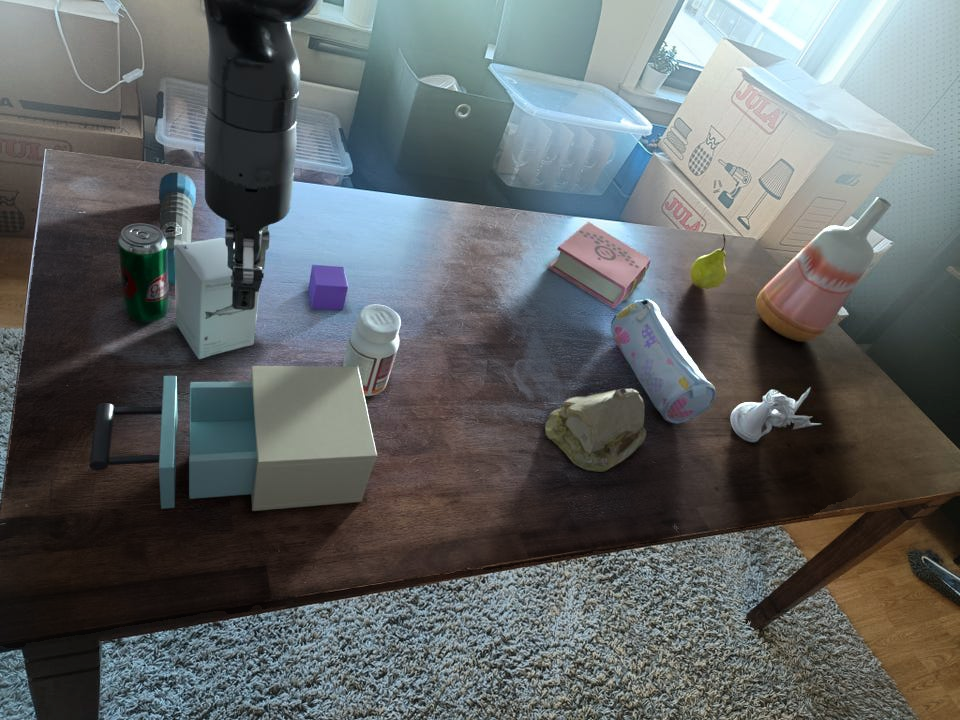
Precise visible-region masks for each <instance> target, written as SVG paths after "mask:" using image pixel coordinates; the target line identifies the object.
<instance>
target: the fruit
mask: <svg viewBox="0 0 960 720" xmlns="http://www.w3.org/2000/svg"><path fill="white" fill-rule="evenodd" d="M722 236H723V247H722V248H717V249H715V250H714V251H712V252H711V253H709V254H704V255H701V256H699V257H698V258H696V259H695V261H694V262H693V263H692V266H691V268H690V271H689V277H690V281H691V282H692V284H693V285H694V286H695V287H697V288H698V289H703V290H708V289H713V288H718V287H720V286H721V285H722V283H723V282H724V281H725V278H726V276H727V273H728V272H727V268H726V266H725V260H726V251H725V248H726V247H725V246H726V235H725V233H722Z"/></svg>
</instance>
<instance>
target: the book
mask: <svg viewBox="0 0 960 720" xmlns="http://www.w3.org/2000/svg"><path fill="white" fill-rule="evenodd" d="M556 250H557V251H559V254H558V257H557V258H556V259H555V260H554V261H552V262H551V263H550V264H549V265H548V267H547V268H548V269H549V270H551V271H552V272H554V273H555V274H557V275H559V276H560V277H562V278H563V279H565V280H567V281H569V282H570V283H571V284H573V285H574V286H576V287H578V288H580V289H581V290H583V291H585V292H586V293H588V294H590V295H591V296H592V297H594V298H596V299H597V300H599V301H600V302H602V303H603V304H605V305H607V306H608V307H610V308H612V309H616V308H617V307H618V306H619V304H621V303H622V302H624V301H625V300H626V299H628V298H629V297H630V296H631V294H632V292H633V291H634V289H635V288H636V287H637V286H638V285H640V283H641V282H642V281H643V279H644V277H645V276H646V273H647V271H648V269H649V267H650V264H651V260H652V259H651V258H650V257H648V256H646V255H645V254H643V253H642V252H641V251H639V250H636V249H635V248H633V247H631V246H630V245H628V244H626V243H625V242H623V241H622V240H620V239H618V238H617V237H615V236H613V235H611V234H610V233H608V232H606V231H605V230H603V229H602V228H600V227H598V226H597V225H595V224H593V223H592V222H590V221H587V222H586V223H584V225H582V226H581V227H579V229H577V230H575V232H573V234H571V235H570V236H569V237H568V238H567V239H565V240H564V241H563V242H562V243H560V244H559V245H558V247H557V248H556Z"/></svg>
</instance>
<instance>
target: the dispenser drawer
mask: <svg viewBox="0 0 960 720" xmlns="http://www.w3.org/2000/svg"><path fill="white" fill-rule="evenodd" d="M162 381H163V382H162V399H161V400H162V401H161V405H158V406H157V405H155V406H154V405H153V406H152V405H151V406H114V404H112V403H109V402H102V403H100V404H98V405H97V406H96V413H95V421H94V428H93V436H92V443H91V451H90V457H89V468H90V469H91V470H94V471H103V470H106V469H107V468H108V467H109V466H120V465H122V466H123V465H137V464H138V465H140V464H157V463H158V475H159V476H158V478H159V492H160V493H159V496H160V509H161V510H164V509H174V508H175V507H176V506H175V505H176V477H177V476H176V473H177V469H176V468H177V445H178V444H177V442H178V382H177V375H164V376H163V380H162ZM189 398H190V399H189V455H188V499H189V500H191V499H192V500H193V499H204V498H205V499H207V498H218V497H219V498H220V497H230V496H233V497H234V496H245V495H246V496H247V495H251V494H253V492H254V484H255V476H256V467H257V449H256V434H255V419H254V404H253V390H252V382H250V381H195V382H194V381H192V382H190V383H189ZM140 415H141V416H143V415H145V416H146V415H161V420H160V437H159V439H160V440H159V453H157V454H142V455H141V454H139V455H118V456H117V455H115V456H110V454H111V443H112V434H113V426H114V419H115V418H114V417H115V416H140Z"/></svg>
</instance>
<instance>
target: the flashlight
mask: <svg viewBox="0 0 960 720" xmlns="http://www.w3.org/2000/svg"><path fill="white" fill-rule="evenodd" d="M196 192H197V188H196V184H195V182H194V181H193V179H192V178H191V177H190V176H188V175H187V174H185V173H182V172H178V171H177V172H176V171H172V172H169V173H166V174H164V175H163V177H161V179H160V183H159V190H158V201H159V204H160V211H159V213H160V214H159V222H158V225H159V229H160V230H161V231H162V232H163V235H164V237H165V238H166V240H167V250H168V285H169V286H175V245H176V244H183V243H190V242H192V229H193V222H194V220H193V216H194V214H193V212H194V211H193V210H194V208H195V204H196V199H197V198H196V195H197V193H196Z"/></svg>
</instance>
